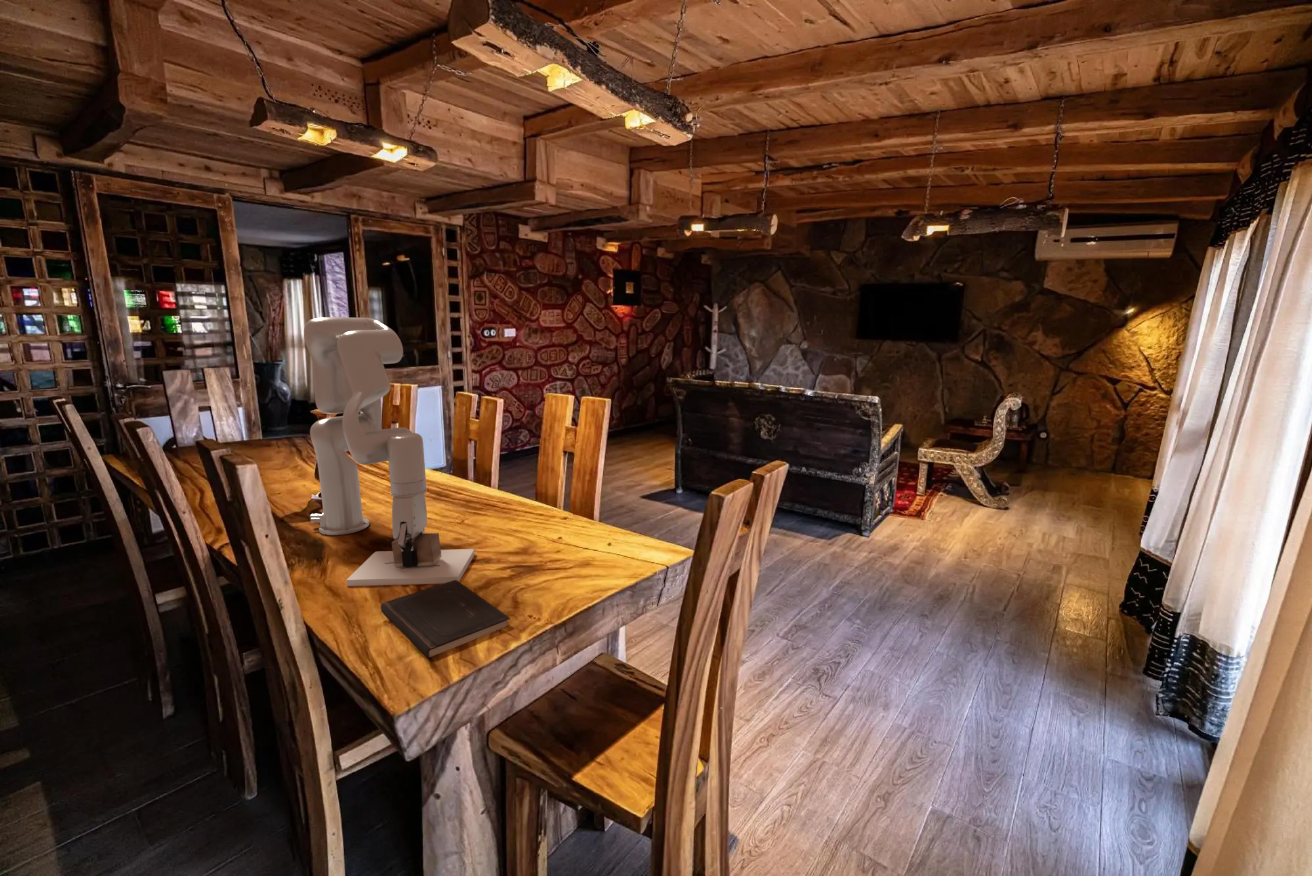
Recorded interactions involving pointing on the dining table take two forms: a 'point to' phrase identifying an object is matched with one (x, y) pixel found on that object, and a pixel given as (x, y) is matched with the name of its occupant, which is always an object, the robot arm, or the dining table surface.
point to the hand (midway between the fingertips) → (414, 560)
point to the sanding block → (420, 549)
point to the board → (411, 570)
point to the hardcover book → (443, 617)
